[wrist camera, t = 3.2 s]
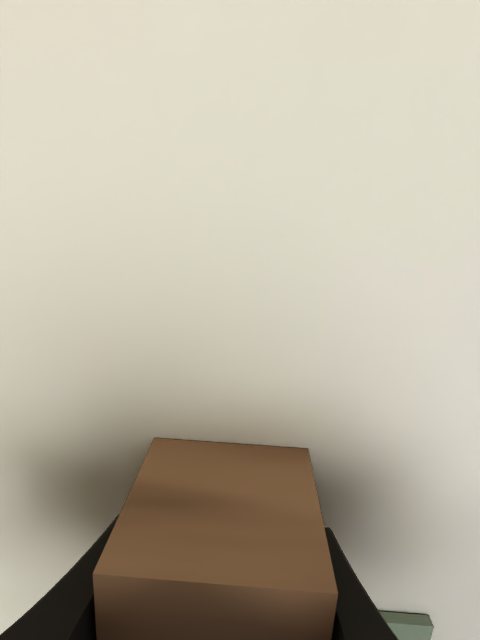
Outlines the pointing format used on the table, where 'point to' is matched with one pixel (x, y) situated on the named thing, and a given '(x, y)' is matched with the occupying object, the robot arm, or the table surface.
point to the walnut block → (218, 548)
